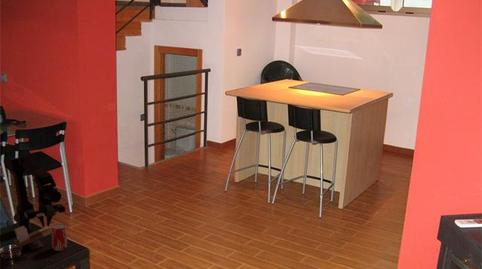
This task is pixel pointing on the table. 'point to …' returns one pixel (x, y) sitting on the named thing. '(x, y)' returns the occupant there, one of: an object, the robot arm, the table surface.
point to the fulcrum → (35, 244)
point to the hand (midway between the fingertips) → (45, 227)
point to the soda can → (59, 237)
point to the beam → (35, 236)
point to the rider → (22, 234)
